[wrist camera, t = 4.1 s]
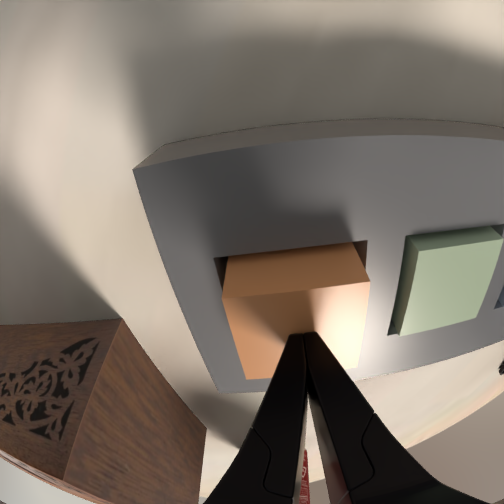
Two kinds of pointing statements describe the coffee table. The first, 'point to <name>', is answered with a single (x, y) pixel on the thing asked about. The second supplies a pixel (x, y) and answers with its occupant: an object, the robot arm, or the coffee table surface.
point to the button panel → (325, 221)
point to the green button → (444, 277)
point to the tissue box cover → (96, 415)
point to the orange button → (295, 303)
